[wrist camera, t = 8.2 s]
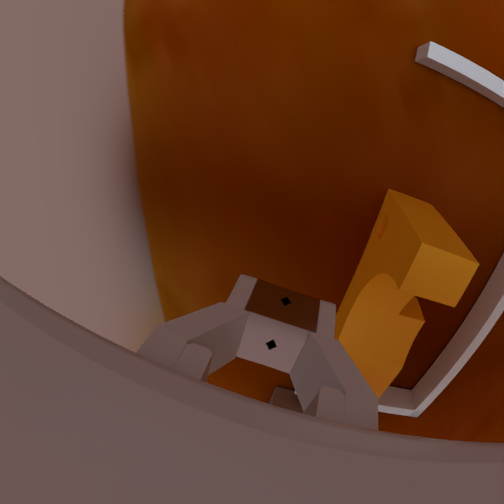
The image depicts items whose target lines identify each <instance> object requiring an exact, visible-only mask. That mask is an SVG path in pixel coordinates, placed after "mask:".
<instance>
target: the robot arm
mask: <svg viewBox="0 0 504 504" xmlns="http://www.w3.org/2000/svg"><path fill="white" fill-rule="evenodd" d="M335 319H336V305H335V304H334V303H331V302H327V301H324V300H319V299H316V298H313V297H309V296H306V295H303V294H299V293H296V292H293V291H290V290H288V289H285V288H282V287H280V286H277V285H274V284H271V283H268V282H265V281H263V280H260V279H257V278H254V277H251V276H248V275H245V274H241V275H240V277H239V279H238V281H237V282H236V284H235V286H234V288H233V290H232V292H231V294H230V296H229V298H228V299H227V301H226V303H222V302H219V303H217V304H214V305H211V306H209V307H206V308H203V309H201V310H198V311H195V312H193V313H190V314H187V315H184V316H182V317H179V318H176V319H174V320H171V321H168V322H165V323H163V324H160V325H157V326H155V328H154V329H153V331H152V332H151V333H150V334H149V336H148V337H147V339H146V340H145V342H144V343H143V344H142V346H141V347H140V348H139V349H138V351H137V352H136V353H135V352H133V351H130V350H128V349H126V348H124V347H122V346H120V345H118V344H116V343H114V342H112V341H110V340H108V339H105V338H104V337H102V336H100V335H98V334H96V333H94V332H92V331H90V330H88V329H86V328H85V327H83V326H81V325H79V324H77V323H75V322H74V321H72V320H70V319H68V318H66V317H65V316H63V315H61V314H59V313H58V312H56V311H54V310H53V309H51V308H49V307H47V306H46V305H44V304H42V303H41V302H39V301H38V300H36V299H34V298H33V297H31V296H30V295H28V294H26V293H25V292H23V291H22V290H20V289H18V288H17V287H16V286H14V285H12V284H11V283H10V282H8V281H6V280H5V279H4V278H2V277H1V276H0V504H504V443H488V442H468V441H455V440H444V439H434V438H426V437H417V436H410V435H403V434H396V433H390V432H384V431H379V430H378V398H377V396H376V395H375V393H374V392H373V390H372V389H371V387H370V386H369V384H368V383H367V381H366V380H365V378H364V377H363V375H362V374H361V372H360V371H359V369H358V368H357V366H356V365H355V363H354V362H353V360H352V359H351V357H350V356H349V355H348V353H347V352H346V350H345V349H344V347H343V346H342V344H341V343H340V341H339V340H336V339H334V338H335ZM236 356H237V357H240V358H243V359H246V360H250V361H253V362H256V363H259V364H263V365H266V366H268V367H271V368H274V369H277V370H280V371H283V372H286V373H289V374H290V378H291V380H292V383H293V385H294V388H295V391H296V393H297V396H298V399H299V401H300V404H301V406H302V409H303V412H304V413H299V412H296V411H292V410H288V409H285V408H281V407H278V406H275V405H271V404H268V403H265V402H262V401H258V400H255V399H252V398H249V397H246V396H243V395H240V394H237V393H234V392H231V391H228V390H225V389H223V388H220V387H217V386H214V385H212V384H209V383H206V381H207V377H208V375H209V374H211V373H213V372H214V371H216V370H217V369H219V368H221V367H222V366H224V365H225V364H227V363H228V362H230V361H231V360H233V359H234V358H236Z"/></svg>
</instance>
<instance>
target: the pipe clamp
mask: <svg viewBox="0 0 504 504" xmlns="http://www.w3.org/2000/svg"><path fill="white" fill-rule="evenodd" d="M478 266H479V263H478V261H477V260H476V259H475V257H474V256H473V255H472V253H471V252H470V251H469V249H468V248H467V247H466V245H465V244H464V243H463V242H462V240H461V239H460V238H459V237H458V235H457V234H456V233H455V232H454V230H453V229H452V228H451V227H450V225H449V224H448V223H447V222H446V221H445V219H444V218H443V217H442V216H441V215H440V214H439V212H438V211H437V210H436V209H435V208H434V207H433V205H432V204H429V203H427V202H424V201H422V200H419V199H416V198H414V197H411V196H409V195H406V194H403V193H401V192H398V191H395V190H392V189H389V188H388V191H387V193H386V196H385V199H384V202H383V204H382V207H381V210H380V212H379V215H378V218H377V220H376V223H375V225H374V228H373V231H372V233H371V236H370V238H369V241H368V243H367V245H366V248H365V250H364V253H363V255H362V258H361V260H360V262H359V265H358V267H357V269H356V272H355V274H354V276H353V278H352V281H351V283H350V285H349V287H348V290H347V292H346V294H345V296H344V299H343V301H342V303H341V305H340V307H339V309H338V311H337V314H336V319H335V338H334V339H336V340H339V341H340V343H341V344H342V346H343V347H344V349H345V350H346V352H347V353H348V355H349V356H350V357H351V359H352V360H353V362H354V363H355V365H356V366H357V368H358V369H359V371H360V372H361V374H362V375H363V377H364V378H365V380H366V381H367V383H368V384H369V386H370V387H371V389H372V390H373V392H374V393H375V395H376V396H377V398H378V399H379V397H380V396H381V395H382V394H383V393H384V391H385V390H386V389H387V388H388V386H389V385H390V384H391V382H392V381H393V380H394V379H395V377H396V376H397V375H398V373H399V372H400V371H401V369H402V368H403V365H404V362H405V360H406V357H407V355H408V352H409V350H410V348H411V345H412V343H413V341H414V339H415V337H416V335H417V334H418V332H419V330H420V329H421V327H422V326H423V324H424V323H425V320H424V317H423V314H422V311H421V308H420V305H419V302H418V299H417V298H416V297H414V296H418V297H422V298H425V299H428V300H432V301H435V302H438V303H442V304H445V305H448V306H452V307H455V306H456V305H457V303H458V302H459V300H460V298H461V296H462V295H463V293H464V291H465V290H466V288H467V286H468V284H469V283H470V281H471V279H472V277H473V275H474V274H475V272H476V270H477V268H478Z"/></svg>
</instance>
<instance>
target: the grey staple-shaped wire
mask: <svg viewBox="0 0 504 504" xmlns="http://www.w3.org/2000/svg"><path fill="white" fill-rule="evenodd" d="M415 62H418V63H420V64H422V65H424V66H427V67H429V68H431V69H433V70H436V71H438V72H440V73H442V74H444V75H446V76H448V77H450V78H452V79H454V80H456V81H458V82H460V83H462V84H464V85H466V86H468V87H469V88H471V89H473V90H475V91H477V92H478V93H480V94H482V95H484V96H485V97H487V98H489V99H490V100H492V101H494V102H495V103H497V104H499V105H500V106H502V107H503V108H504V81H503V80H502V79H500V78H498V77H497V76H495V75H494V74H492V73H490V72H489V71H487V70H485V69H484V68H482V67H480V66H478V65H477V64H475V63H473V62H471V61H469V60H468V59H466V58H464V57H462V56H460V55H458V54H456V53H454V52H452V51H450V50H448V49H446V48H444V47H442V46H440V45H438V44H436V43H434V42H432V41H430V42H428V43H426V44H424V45H421V46H419V47H418V49H417V53H416V58H415ZM503 311H504V253H503V255H502V257H501V259H500V260H499V262H498V264H497V266H496V268H495V270H494V272H493V274H492V275H491V277H490V279H489V281H488V282H487V284H486V286H485V288H484V289H483V291H482V293H481V294H480V296H479V298H478V299H477V301H476V303H475V304H474V306H473V307H472V309H471V311H470V312H469V314H468V315H467V317H466V318H465V320H464V321H463V323H462V324H461V326H460V327H459V329H458V330H457V332H456V333H455V335H454V336H453V338H452V339H451V340H450V342H449V343H448V345H447V346H446V347H445V349H444V350H443V351H442V353H441V354H440V355H439V357H438V358H437V359H436V361H435V362H434V363H433V365H432V366H431V367H430V368H429V370H428V371H427V372H426V373H425V375H424V376H423V377H422V378H421V380H420V381H419V382H418V383H417V384H416V386H415V387H414V388H413V389H412V390H408V389H403V388H397V387H392V386H388V388H387V389H386V390H385V391H384V393H383V394H382V395H381V396H380V397H379V399H378V411H379V412H385V413H391V414H398V415H405V416H412V417H418V416H419V415H420V414H421V413H422V412H423V411H424V410H425V409H426V408H427V407H428V406H429V405H430V404H431V403H432V402H433V401H434V399H435V398H436V397H437V396H438V395H439V394H440V393H441V392H442V391H443V390H444V388H445V387H446V386H447V385H448V384H449V383H450V382H451V380H452V379H453V378H454V377H455V376H456V375H457V373H458V372H459V371H460V370H461V369H462V367H463V366H464V365H465V364H466V362H467V361H468V360H469V359H470V357H471V356H472V355H473V353H474V352H475V351H476V350H477V348H478V347H479V346H480V344H481V343H482V341H483V340H484V339H485V337H486V336H487V335H488V333H489V332H490V330H491V329H492V327H493V326H494V325H495V323H496V322H497V320H498V319H499V317H500V316H501V314H502V313H503ZM294 394H297V393H296V391H295V393H294Z"/></svg>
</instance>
